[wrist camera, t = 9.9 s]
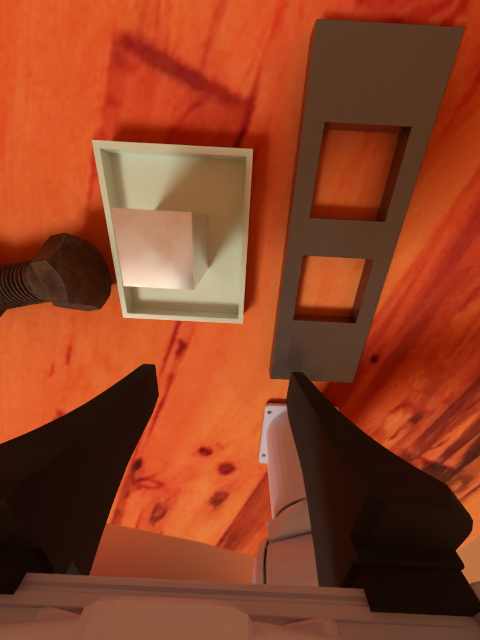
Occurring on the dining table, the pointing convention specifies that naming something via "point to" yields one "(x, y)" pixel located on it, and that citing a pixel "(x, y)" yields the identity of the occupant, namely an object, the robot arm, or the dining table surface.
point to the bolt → (58, 277)
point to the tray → (183, 196)
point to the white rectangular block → (161, 247)
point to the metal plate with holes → (381, 236)
